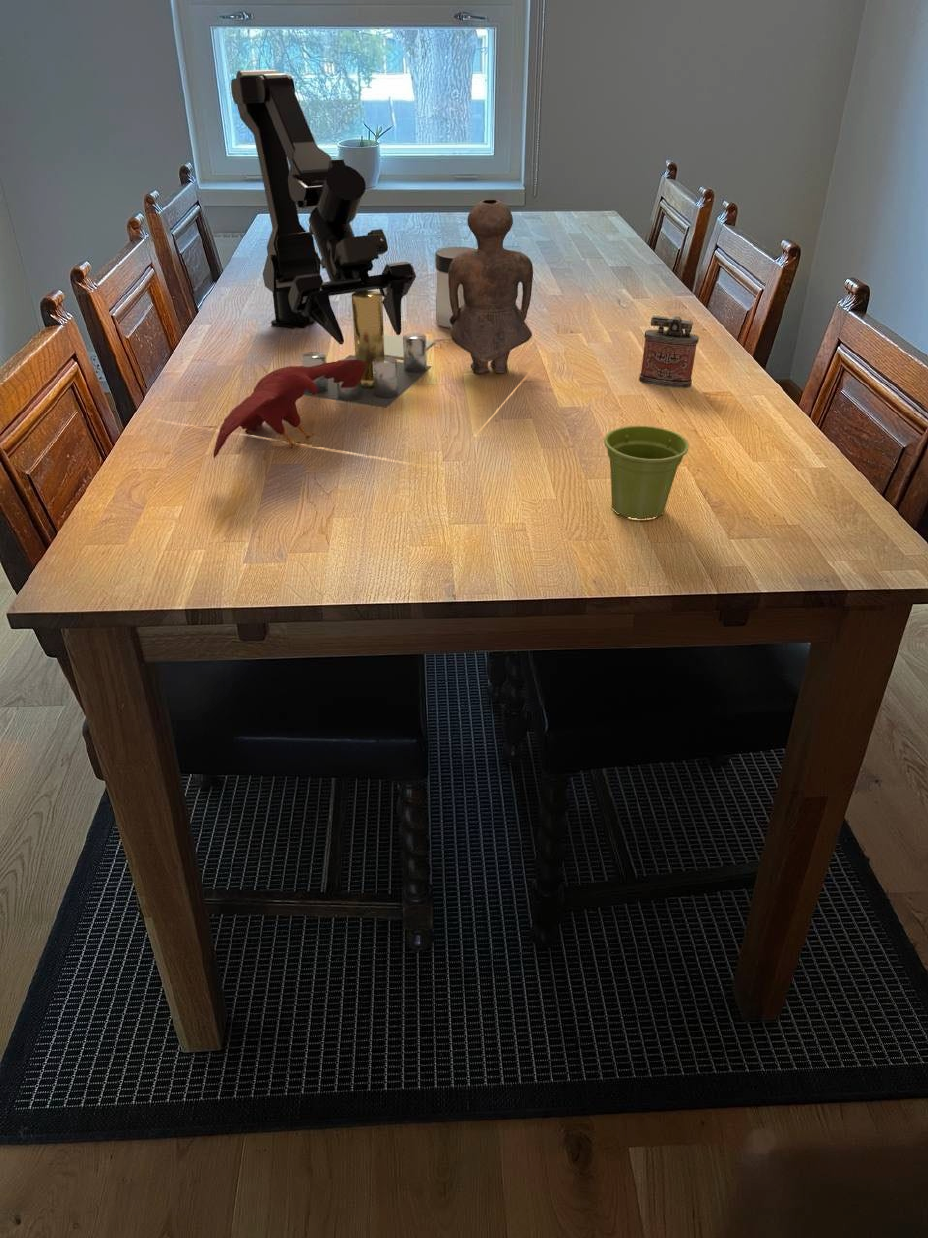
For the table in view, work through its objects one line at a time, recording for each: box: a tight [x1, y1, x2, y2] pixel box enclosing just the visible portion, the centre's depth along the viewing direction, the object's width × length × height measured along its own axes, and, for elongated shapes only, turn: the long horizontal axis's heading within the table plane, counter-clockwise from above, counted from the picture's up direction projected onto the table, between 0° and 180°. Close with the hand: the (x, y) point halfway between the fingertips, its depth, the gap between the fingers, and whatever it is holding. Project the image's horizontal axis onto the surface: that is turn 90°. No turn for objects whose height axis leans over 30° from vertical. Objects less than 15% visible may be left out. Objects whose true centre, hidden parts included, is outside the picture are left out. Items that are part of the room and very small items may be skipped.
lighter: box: [638, 315, 700, 389], centre depth 138 cm, size 8×3×10 cm, turn 71°
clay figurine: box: [448, 198, 534, 374], centre depth 138 cm, size 13×10×25 cm
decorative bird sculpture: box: [213, 359, 367, 459], centre depth 120 cm, size 28×9×15 cm
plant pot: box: [603, 425, 690, 519], centre depth 105 cm, size 9×9×9 cm
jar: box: [434, 246, 478, 329], centre depth 161 cm, size 9×8×12 cm
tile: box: [384, 334, 435, 360], centre depth 152 cm, size 9×9×1 cm
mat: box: [303, 354, 433, 408], centre depth 140 cm, size 14×18×1 cm
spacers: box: [300, 332, 428, 402], centre depth 139 cm, size 14×18×5 cm
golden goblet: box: [351, 290, 385, 389], centre depth 136 cm, size 6×6×13 cm
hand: (371, 338), depth 135 cm, fingers open, 9 cm apart
